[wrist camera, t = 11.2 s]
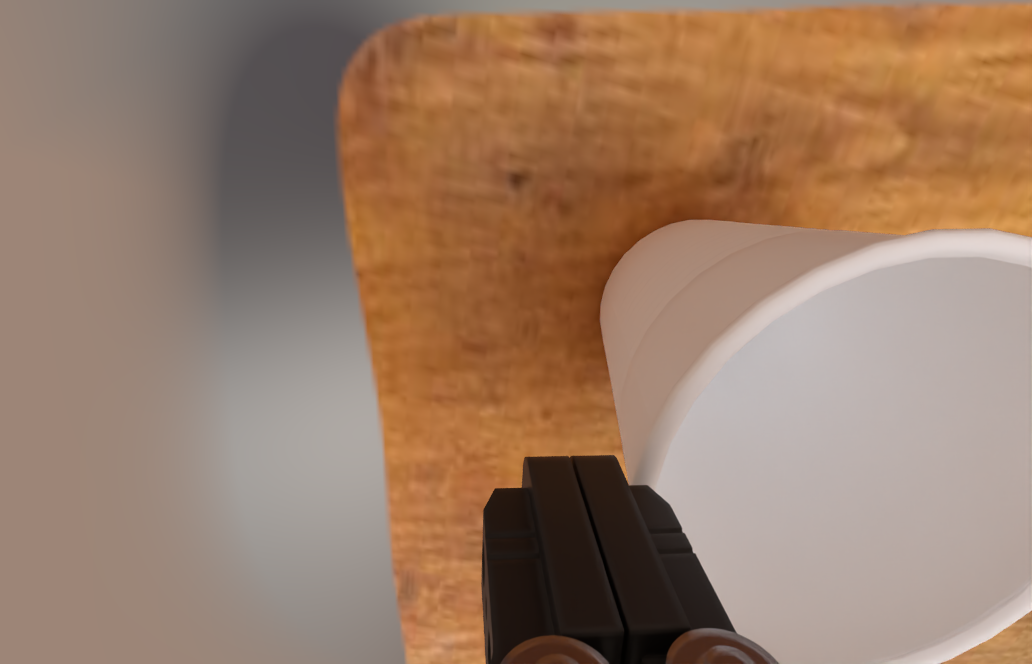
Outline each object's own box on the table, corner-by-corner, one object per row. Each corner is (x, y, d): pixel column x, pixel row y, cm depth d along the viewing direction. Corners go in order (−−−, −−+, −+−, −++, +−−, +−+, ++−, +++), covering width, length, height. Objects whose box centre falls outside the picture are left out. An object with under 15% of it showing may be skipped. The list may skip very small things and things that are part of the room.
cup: (748, 451, 24) (969, 718, 14) (507, 395, 22) (555, 659, 12) (870, 207, 21) (1276, 320, 10) (601, 117, 19) (778, 146, 9)
